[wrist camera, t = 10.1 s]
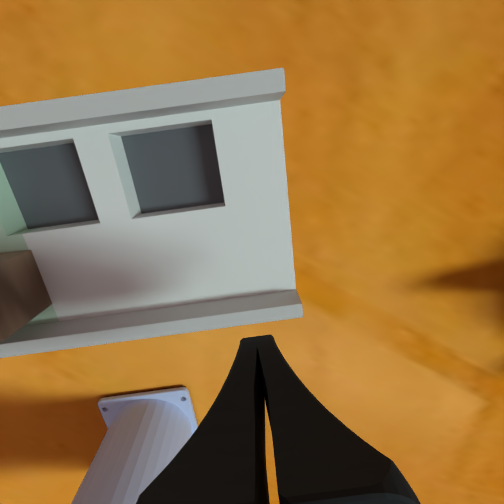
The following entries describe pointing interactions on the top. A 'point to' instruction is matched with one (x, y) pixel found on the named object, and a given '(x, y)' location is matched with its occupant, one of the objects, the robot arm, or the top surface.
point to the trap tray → (150, 210)
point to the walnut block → (20, 291)
